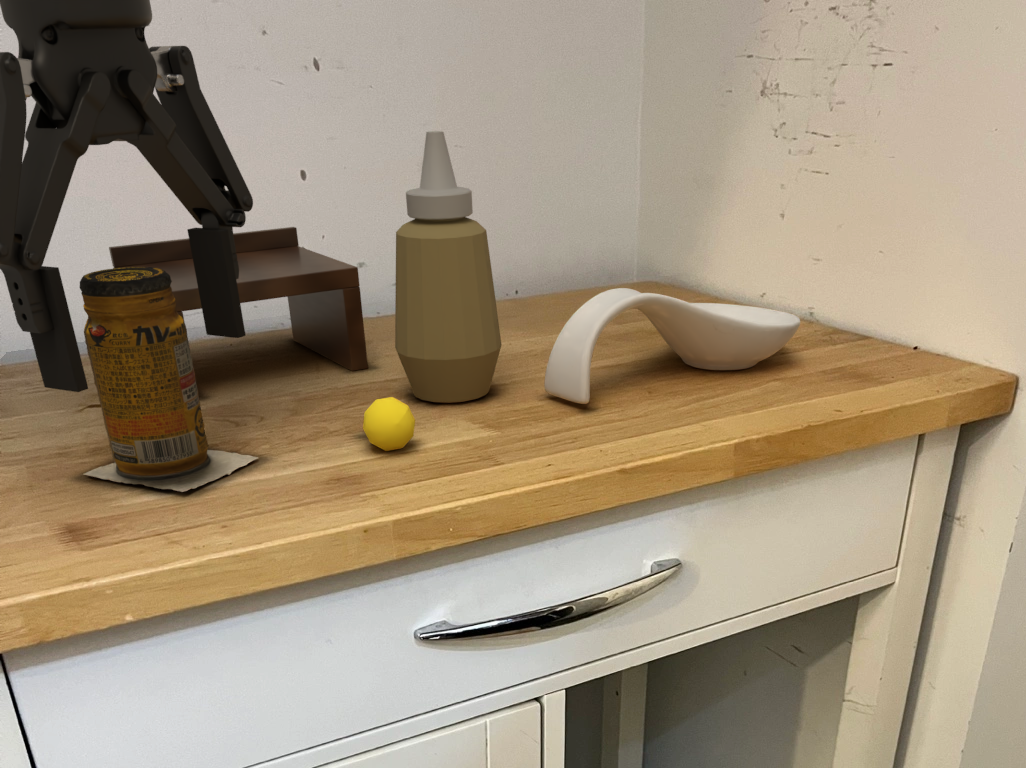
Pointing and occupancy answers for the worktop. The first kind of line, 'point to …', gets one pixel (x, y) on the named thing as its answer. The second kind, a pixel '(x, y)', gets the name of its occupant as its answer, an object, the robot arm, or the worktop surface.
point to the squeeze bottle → (444, 288)
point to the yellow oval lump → (389, 423)
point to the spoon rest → (667, 336)
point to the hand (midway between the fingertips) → (152, 360)
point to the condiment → (147, 383)
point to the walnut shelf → (274, 287)
